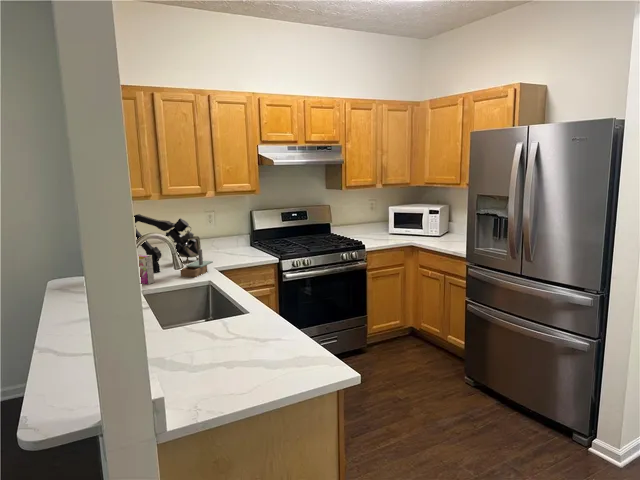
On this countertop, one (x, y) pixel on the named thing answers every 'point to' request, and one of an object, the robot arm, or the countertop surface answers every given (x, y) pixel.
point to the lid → (200, 262)
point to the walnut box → (193, 271)
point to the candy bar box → (146, 269)
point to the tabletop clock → (190, 250)
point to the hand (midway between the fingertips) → (193, 255)
